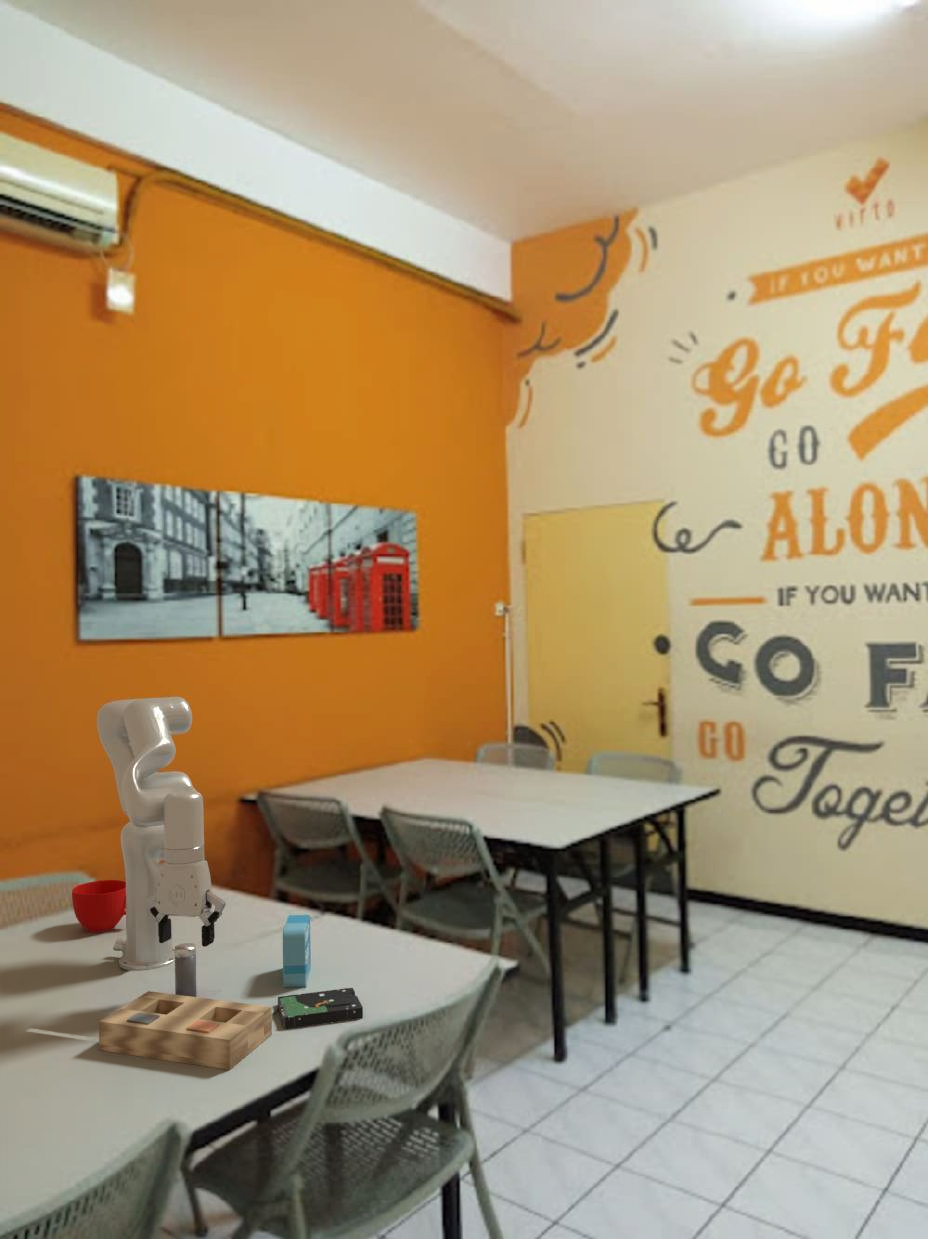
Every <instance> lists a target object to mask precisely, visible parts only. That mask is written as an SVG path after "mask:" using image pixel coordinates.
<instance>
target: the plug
mask: <svg viewBox="0 0 928 1239" xmlns="http://www.w3.org/2000/svg"><path fill="white" fill-rule="evenodd" d="M174 949H175V962H174V986H175V987H174V988H175V995H183V996H190V997H196V987H197V944H196V943H193V942H192V943H191V942H187V943H180V944H177V945H175V946H174Z"/></svg>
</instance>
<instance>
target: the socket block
mask: <svg viewBox="0 0 928 1239" xmlns="http://www.w3.org/2000/svg"><path fill="white" fill-rule="evenodd" d="M272 1019H273V1017H272V1006H267V1005H259V1004H252V1003H243V1002H236V1001H227V1000H220V999H212V998H211V999H206V998H198V997H190V996H183V995H175V994H167V992H159V991H151V990H147V992H145V993H143V994H142V995H140V996H138V997H137V998H135V999H134V1000H132V1001H130V1002H129V1003H127V1004H125V1005H124V1006H122V1007H120V1008H119V1009H117V1010H115V1011H114V1012H111V1013H110V1014H109V1015H107V1016H105V1017H103V1018H102V1019H100V1020H98V1037H99V1038H98V1045H99V1047H98V1050H99V1051H104V1052H110V1053H117V1054H123V1055H130V1056H137V1057H143V1058H150V1059H155V1060H162V1061H169V1062H176V1063H183V1064H190V1065H194V1066H201V1067H208V1068H214V1069H219V1070H227V1071H231V1070H232V1069H233V1068H234V1067H235V1066H237V1065H238V1064H239V1063H240V1062H242V1061H243V1060H244V1059H245V1058H246V1057H247V1056H249V1055H250V1053H252V1052H253V1051H254V1050H256V1049H257V1048H258V1047H259V1046H260V1045H261V1044H263V1043H264V1042H265V1041H266V1040H267V1039H269V1038H270V1037H271V1036H272V1035H273V1033H272V1032H273V1028H272V1027H273V1026H272V1023H273V1022H272V1021H273V1020H272Z"/></svg>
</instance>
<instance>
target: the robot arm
mask: <svg viewBox="0 0 928 1239" xmlns="http://www.w3.org/2000/svg"><path fill="white" fill-rule="evenodd" d="M192 712H193V711H192V709H191V707H190V704H189V703H188V701H187V700H186V699H185V698H183V697H180V696H170V697H168V696H167V697H165V696H164V697H148V698H133V699H122V700H121V699H120V700H113V701H110V702H106V703H105V704H104V705H102V706H101V707H100V708H99V710H98V712H97V717H96V725H97V732H98V737H99V742H100V743H101V745H102V747H103V749H104V751H105V753H106V755H107V757H108V758H109V761H110V762H111V765H112V768H113V771H114V777H115V781H116V782H115V783H116V788H117V793H118V797H119V803H120V806H121V810H122V811H123V813H124V814H125V815H126V816H127V817H128V819H129V821H128V822H127V823H126V824H125V825H124V826H123V827H122V829H121V832H120V847H121V851H122V857H123V862H124V872H125V873H124V874H125V875H124V876H125V882H126V910H125V911H126V915H125V919H126V921H125V925H126V926H125V927H126V929H125V930H126V931H125V932H126V933H125V934H126V938H116V940H115V942H114V945H113V947H112V950H113V951H118V952H120V951H121V953H122V956H121V957H120V958H119V959H118V965H119V967H120V968H121V969H123V970H125V971H129V972H130V971H132V970H133V971H147V970H148V971H149V970H155V969H160V968H164V967H166V966H170V965H172V964H175V947H174V948H173V917H187V918H196V917H199V919H200V920H201V922H202V923H203V925H202V926H201V946H202V947H204V948H205V947H208V946H210V945H211V944H213V943H214V942H215V937H216V936H215V923H216V922H217V921H218V919H219V918H220V917H221V916H222V915H223V911H224V909H225V907H226V905H227V902H226V901H225V900H224V899H222V898H221V897H219V896H218V895H216V894H214V893H213V889H212V881H211V880H212V879H211V873H210V868H209V864H208V861H207V860H205V833H204V832H205V831H204V830H205V826H204V825H205V824H204V819H205V818H204V798H203V795H202V794H201V793H200V792H199V791H198V790H197V789H195V787H194V786H193V782H192V780H191V778H190V777H189V775H188V774H186V773H185V772H182V771H179V770H178V771H177V770H176V771H175V770H173V771H163V772H160V771H161V770H162V769H165V768H166V767H168V766H169V765H170V764H171V763H172V762H173V761H174V759H175V758H176V757H175V756H176V754H177V749H176V744H175V742H174V740H173V737H172V735H183V734H186V733H188V732H189V731H190V729H191V727H192V725H193V724H192V723H193V713H192ZM160 861H163V862H161V863H160ZM213 906H214V911H213V910H212V907H213Z"/></svg>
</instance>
